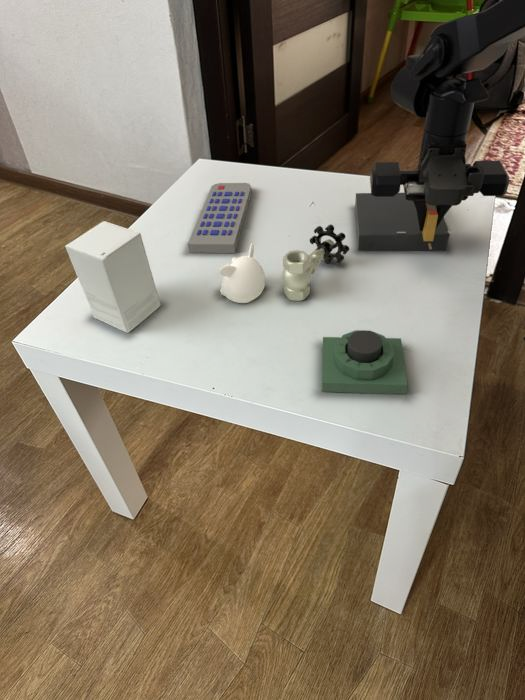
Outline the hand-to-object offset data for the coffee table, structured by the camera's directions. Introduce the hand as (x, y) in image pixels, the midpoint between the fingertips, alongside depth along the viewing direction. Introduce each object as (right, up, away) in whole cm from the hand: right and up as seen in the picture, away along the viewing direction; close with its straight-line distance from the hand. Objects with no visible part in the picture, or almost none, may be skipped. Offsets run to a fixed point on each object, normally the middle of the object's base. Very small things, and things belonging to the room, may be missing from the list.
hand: (426, 229), depth 78 cm
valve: (-18, -8, -1) cm, 20 cm away
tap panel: (-2, +1, +6) cm, 6 cm away
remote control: (-33, +5, +13) cm, 36 cm away
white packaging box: (-46, -13, -4) cm, 48 cm away
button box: (-13, -21, -15) cm, 29 cm away
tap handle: (0, 0, 0) cm, 0 cm away
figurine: (-29, -10, -2) cm, 31 cm away
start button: (-14, -19, -18) cm, 29 cm away
